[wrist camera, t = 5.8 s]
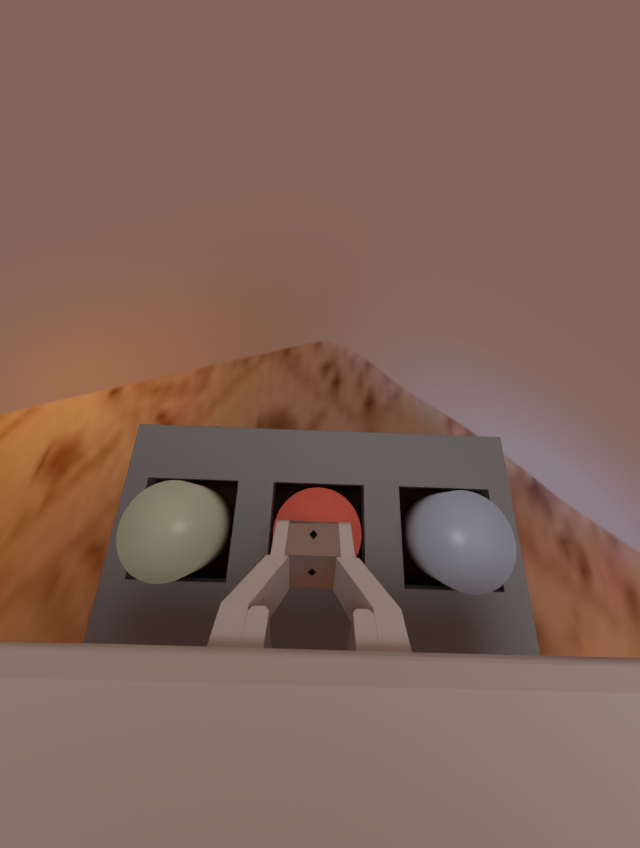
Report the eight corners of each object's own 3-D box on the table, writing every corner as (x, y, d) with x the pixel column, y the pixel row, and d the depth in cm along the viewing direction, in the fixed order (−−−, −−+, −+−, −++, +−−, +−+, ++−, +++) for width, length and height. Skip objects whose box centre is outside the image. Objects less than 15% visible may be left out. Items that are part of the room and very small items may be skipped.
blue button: (401, 576, 16) (423, 593, 13) (396, 493, 18) (415, 488, 14) (481, 579, 16) (525, 596, 13) (470, 496, 18) (506, 491, 14)
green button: (148, 568, 16) (103, 582, 13) (165, 485, 17) (130, 478, 14) (229, 570, 16) (206, 585, 13) (239, 487, 17) (222, 481, 14)
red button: (277, 568, 17) (268, 581, 14) (283, 490, 19) (276, 486, 15) (353, 570, 17) (362, 584, 14) (352, 493, 19) (360, 488, 15)
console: (172, 599, 22) (80, 653, 13) (198, 453, 26) (139, 424, 17) (454, 608, 22) (542, 668, 13) (438, 462, 26) (500, 437, 17)
